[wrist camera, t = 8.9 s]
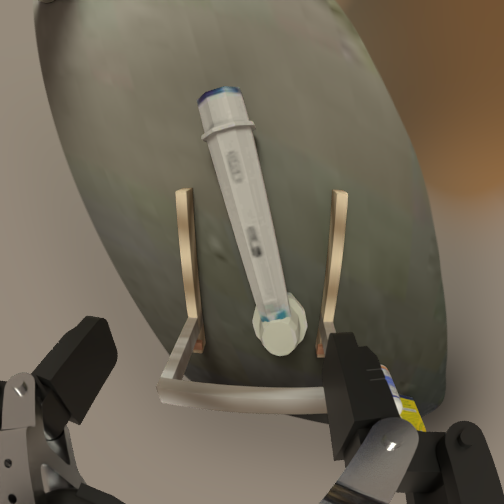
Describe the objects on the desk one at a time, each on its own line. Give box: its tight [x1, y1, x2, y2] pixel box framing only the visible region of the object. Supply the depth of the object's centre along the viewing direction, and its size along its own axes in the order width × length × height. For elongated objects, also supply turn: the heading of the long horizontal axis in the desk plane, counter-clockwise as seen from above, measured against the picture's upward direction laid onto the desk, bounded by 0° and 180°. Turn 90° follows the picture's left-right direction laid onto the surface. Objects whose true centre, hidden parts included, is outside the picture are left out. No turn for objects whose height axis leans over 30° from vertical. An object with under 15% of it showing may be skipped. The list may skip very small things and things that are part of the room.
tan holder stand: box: [156, 188, 348, 414], centre depth 22 cm, size 18×16×12 cm
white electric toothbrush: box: [197, 87, 307, 356], centre depth 24 cm, size 5×7×25 cm
